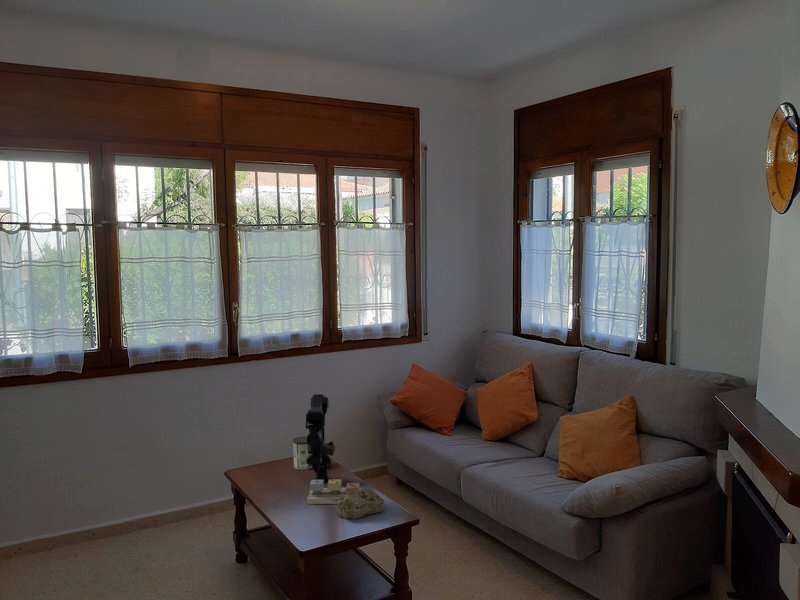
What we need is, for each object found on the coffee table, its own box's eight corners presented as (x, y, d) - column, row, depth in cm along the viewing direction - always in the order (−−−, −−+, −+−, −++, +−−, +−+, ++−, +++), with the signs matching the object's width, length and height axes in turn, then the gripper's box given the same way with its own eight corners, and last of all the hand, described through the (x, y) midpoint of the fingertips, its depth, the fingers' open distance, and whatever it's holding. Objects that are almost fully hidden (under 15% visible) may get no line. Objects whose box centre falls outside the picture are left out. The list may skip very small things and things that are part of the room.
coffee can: (309, 461, 341) (308, 435, 339) (317, 467, 332) (316, 440, 331) (290, 465, 335) (289, 438, 334) (298, 471, 326) (297, 443, 325)
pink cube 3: (347, 495, 293) (347, 482, 292) (359, 495, 293) (359, 482, 292) (346, 500, 287) (345, 487, 287) (358, 500, 287) (358, 487, 287)
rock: (369, 502, 287) (374, 482, 285) (386, 521, 276) (391, 500, 274) (328, 509, 276) (333, 488, 273) (344, 528, 264) (349, 507, 262)
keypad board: (311, 493, 296) (311, 488, 296) (361, 492, 296) (361, 487, 296) (307, 504, 285) (307, 498, 284) (359, 503, 284) (359, 497, 284)
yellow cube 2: (329, 491, 293) (329, 479, 292) (341, 491, 293) (341, 478, 292) (328, 496, 287) (327, 483, 287) (340, 496, 287) (340, 483, 287)
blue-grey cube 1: (311, 492, 293) (311, 479, 293) (324, 491, 293) (323, 479, 292) (310, 496, 288) (309, 483, 287) (322, 496, 287) (322, 483, 287)
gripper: (331, 445, 279) (332, 480, 280) (336, 432, 297) (337, 465, 299) (305, 445, 279) (306, 480, 280) (311, 432, 297) (312, 465, 299)
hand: (316, 473), depth 289 cm, fingers closed
